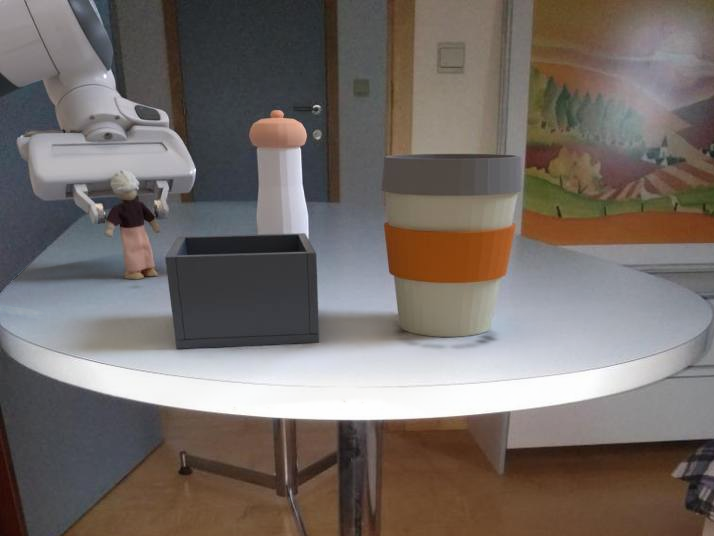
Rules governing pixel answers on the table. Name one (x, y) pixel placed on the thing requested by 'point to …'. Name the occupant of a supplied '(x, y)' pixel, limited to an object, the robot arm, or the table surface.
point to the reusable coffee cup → (449, 237)
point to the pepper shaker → (280, 175)
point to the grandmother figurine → (132, 226)
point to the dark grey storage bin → (243, 290)
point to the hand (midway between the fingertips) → (132, 218)
